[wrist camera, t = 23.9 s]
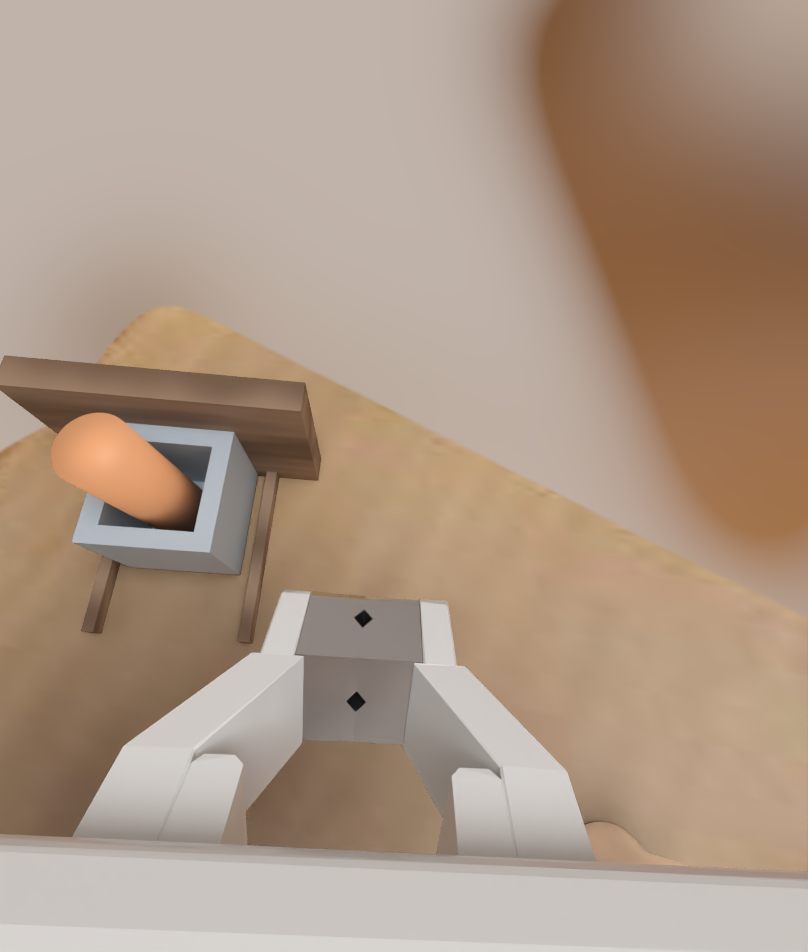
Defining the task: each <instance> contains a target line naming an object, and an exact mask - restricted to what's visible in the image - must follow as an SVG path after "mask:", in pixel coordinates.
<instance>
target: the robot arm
mask: <svg viewBox="0 0 808 952" xmlns="http://www.w3.org/2000/svg"><path fill="white" fill-rule="evenodd" d="M353 738H354V740H353ZM302 740H330V741H357V742H369V743H380V744H392V745H403V749H404V751H405V753H406V754H407V756H408V758H409V760H410V761H411V763H412V765H413V767H414V768H415V770H416V772H417V774H418V775H419V777H420V779H421V781H422V782H423V784H424V786H425V788H426V789H427V791H428V793H429V795H430V796H431V798H432V800H433V802H434V803H435V805H436V807H437V808H438V810H439V812H440V814H441V815H442V817H443V821H442V826H441V831H440V836H439V841H438V846H437V851H436V854H416V853H395V852H375V851H354V850H333V849H312V848H291V847H270V846H249V845H247V826H246V811H247V810H248V808H249V807H250V806H251V805H252V804H253V802H254V801H255V800H256V799H257V797H258V796H259V795H260V794H261V793H262V791H263V790H264V789H265V788H266V787H267V785H268V784H269V783H270V782H271V780H272V779H273V778H274V777H275V776H276V774H277V773H278V772H279V771H280V770H281V768H282V767H283V766H284V765H285V764H286V762H287V761H288V760H289V759H290V757H291V756H292V755H293V754H294V753H295V751H296V750H297V749H298V748H299V747H300V745H301V744H302ZM0 952H808V872H805V871H784V870H763V869H742V868H720V867H699V866H678V865H657V864H636V863H615V862H596V859H595V856H594V853H593V850H592V847H591V844H590V841H589V838H588V835H587V832H586V829H585V826H584V822H583V819H582V816H581V813H580V810H579V807H578V804H577V801H576V798H575V795H574V792H573V789H572V786H571V782H570V779H569V776H568V773H567V771H566V770H565V769H564V768H563V767H562V766H561V765H560V764H559V763H558V762H557V761H556V760H555V759H554V758H553V757H552V756H551V755H550V754H549V752H548V751H547V750H546V749H545V748H544V747H543V746H542V745H541V744H540V743H539V742H538V741H537V740H536V739H535V738H534V737H533V736H532V735H531V734H530V733H529V732H528V731H527V730H526V729H525V728H524V727H523V726H522V725H521V724H520V722H519V721H518V720H517V719H516V718H515V717H514V716H513V715H512V714H511V713H510V712H509V711H508V710H507V709H506V708H505V707H504V706H503V705H502V704H501V703H500V702H499V701H498V700H497V699H496V698H495V697H494V696H493V695H492V694H491V693H490V691H489V690H488V689H487V688H486V687H485V686H484V685H483V684H482V683H481V682H480V681H479V680H478V679H477V678H476V677H475V676H474V675H473V674H472V673H471V672H470V671H469V670H468V669H467V668H466V667H465V666H457V663H456V656H455V649H454V642H453V635H452V628H451V622H450V615H449V608H448V603H447V602H446V601H443V600H420V599H419V600H406V599H390V598H375V597H366V596H355V595H344V594H334V593H323V592H310V591H297V590H284V591H283V592H282V593H281V595H280V598H279V600H278V603H277V606H276V609H275V612H274V615H273V618H272V620H271V623H270V626H269V629H268V632H267V635H266V637H265V640H264V643H263V646H262V649H261V652H260V653H250V654H249V655H247V656H246V657H245V658H243V659H242V660H241V661H239V662H238V663H236V664H235V665H234V666H232V667H231V668H230V669H228V670H227V671H225V672H224V673H223V674H221V675H220V676H219V677H217V678H216V679H214V680H213V681H212V682H210V683H209V684H208V685H206V686H205V687H204V688H202V689H201V690H199V691H198V692H197V693H195V694H194V695H193V696H191V697H190V698H188V699H187V700H186V701H184V702H183V703H182V704H180V705H179V706H177V707H176V708H175V709H173V710H172V711H171V712H169V713H168V714H167V715H165V716H164V717H162V718H161V719H160V720H158V721H157V722H156V723H154V724H153V725H151V726H150V727H149V728H147V729H146V730H145V731H143V732H142V733H140V734H139V735H138V736H136V737H135V738H134V739H132V740H131V741H130V742H128V743H127V744H125V745H124V746H123V748H122V750H121V751H120V753H119V755H118V757H117V758H116V760H115V762H114V764H113V765H112V767H111V769H110V771H109V772H108V774H107V776H106V778H105V780H104V781H103V783H102V785H101V787H100V788H99V790H98V792H97V794H96V795H95V797H94V799H93V801H92V802H91V804H90V806H89V808H88V809H87V811H86V813H85V815H84V817H83V818H82V820H81V822H80V824H79V825H78V827H77V829H76V831H75V832H74V834H73V836H72V837H58V836H37V835H16V834H0Z"/></svg>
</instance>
